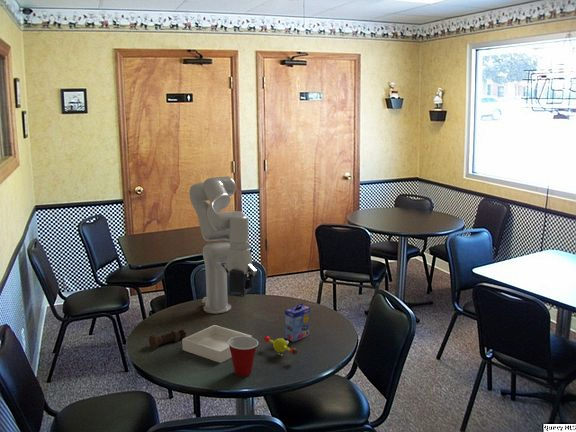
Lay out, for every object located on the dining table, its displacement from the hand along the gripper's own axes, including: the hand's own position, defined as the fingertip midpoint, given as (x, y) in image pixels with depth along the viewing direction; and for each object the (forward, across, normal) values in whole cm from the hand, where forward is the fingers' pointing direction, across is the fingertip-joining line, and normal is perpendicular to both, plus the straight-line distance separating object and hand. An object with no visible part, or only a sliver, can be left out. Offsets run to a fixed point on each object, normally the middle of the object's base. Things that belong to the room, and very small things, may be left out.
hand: (240, 286), depth 240 cm
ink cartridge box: (+20, +22, +9) cm, 31 cm away
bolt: (+20, -17, -25) cm, 36 cm away
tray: (+20, +3, -18) cm, 27 cm away
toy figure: (+20, +27, -9) cm, 35 cm away
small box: (+3, 0, 0) cm, 3 cm away
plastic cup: (+20, +25, -28) cm, 43 cm away
